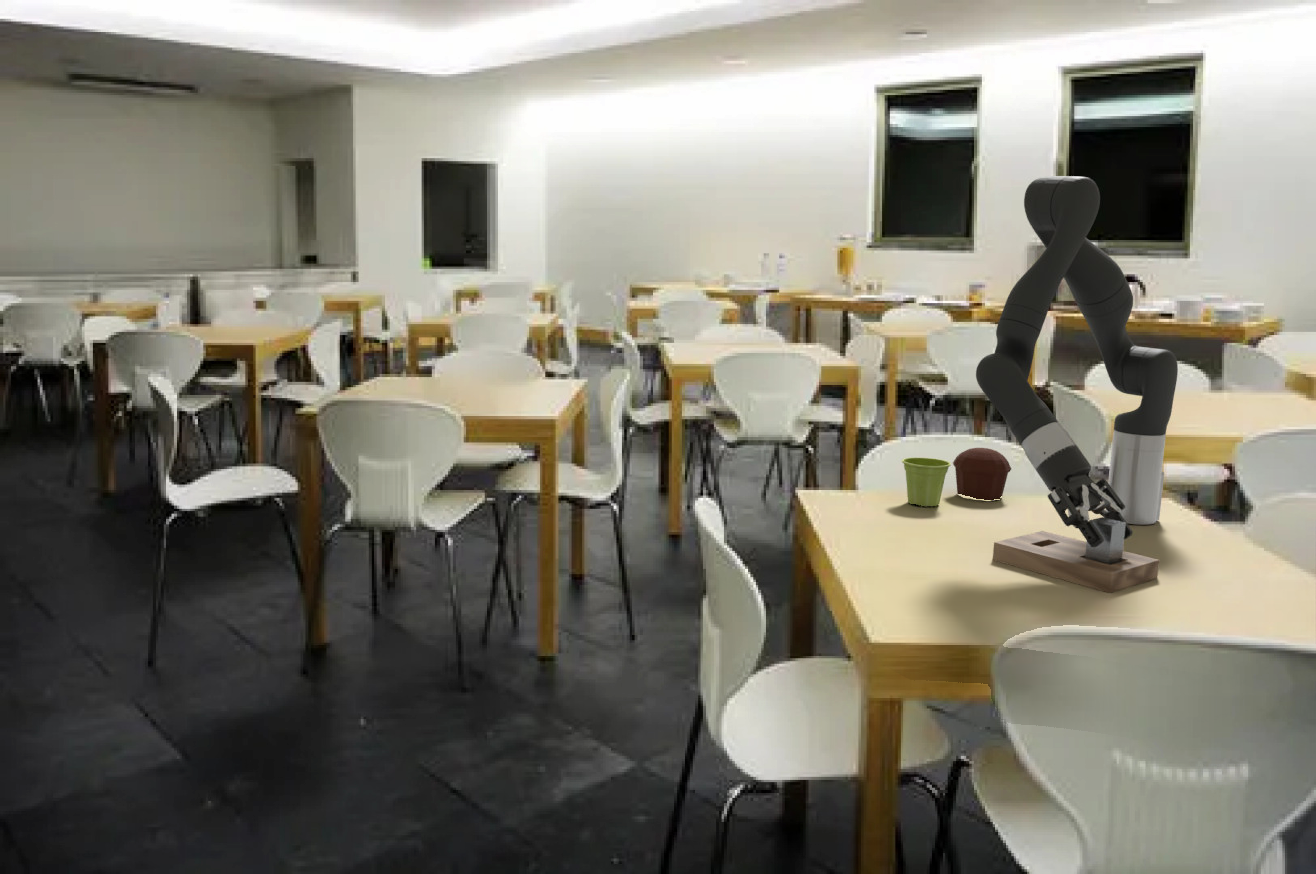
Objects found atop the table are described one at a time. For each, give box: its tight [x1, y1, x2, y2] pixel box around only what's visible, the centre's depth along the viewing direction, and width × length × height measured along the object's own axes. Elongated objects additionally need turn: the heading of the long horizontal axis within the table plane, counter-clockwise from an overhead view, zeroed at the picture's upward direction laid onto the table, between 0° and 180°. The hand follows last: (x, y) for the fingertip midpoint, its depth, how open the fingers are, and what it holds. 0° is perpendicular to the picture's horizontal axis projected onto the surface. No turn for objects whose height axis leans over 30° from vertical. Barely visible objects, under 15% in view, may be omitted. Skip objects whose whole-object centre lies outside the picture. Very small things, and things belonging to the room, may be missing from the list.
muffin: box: [952, 447, 1012, 500], centre depth 236 cm, size 12×11×10 cm
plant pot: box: [901, 457, 952, 507], centre depth 228 cm, size 9×9×9 cm
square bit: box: [1085, 516, 1126, 565], centre depth 181 cm, size 4×4×9 cm
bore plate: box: [992, 530, 1160, 594], centre depth 186 cm, size 14×21×3 cm, turn 39°
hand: (1113, 540), depth 180 cm, fingers open, 8 cm apart
